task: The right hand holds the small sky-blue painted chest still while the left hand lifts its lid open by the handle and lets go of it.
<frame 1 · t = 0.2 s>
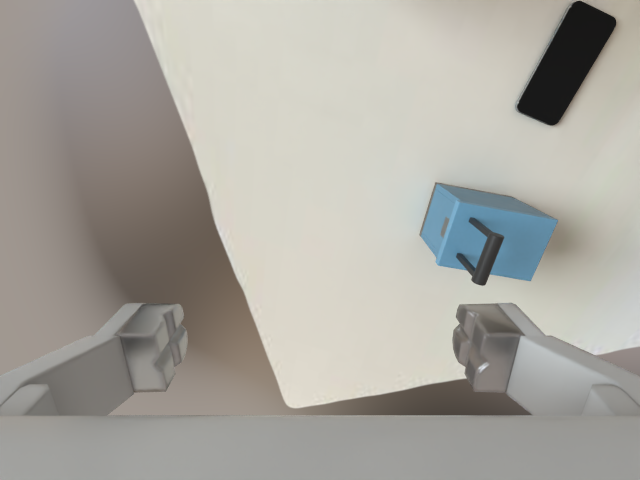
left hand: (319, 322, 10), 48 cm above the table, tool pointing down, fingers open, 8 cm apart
chest: (464, 216, 59), on the table
lid: (508, 253, 45), point 16 cm above the table, hinge at 0.0°
smartphone: (561, 67, 51), on the table
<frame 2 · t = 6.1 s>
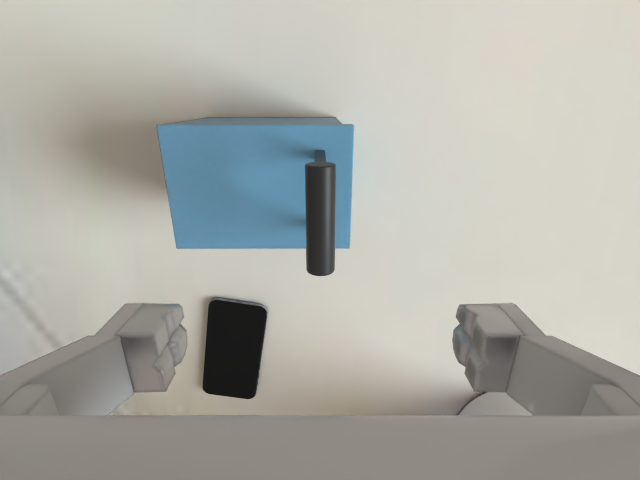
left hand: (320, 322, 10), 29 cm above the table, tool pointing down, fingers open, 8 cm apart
chest: (274, 163, 38), on the table
lid: (251, 202, 23), point 16 cm above the table, hinge at 0.0°
smartphone: (234, 348, 46), on the table
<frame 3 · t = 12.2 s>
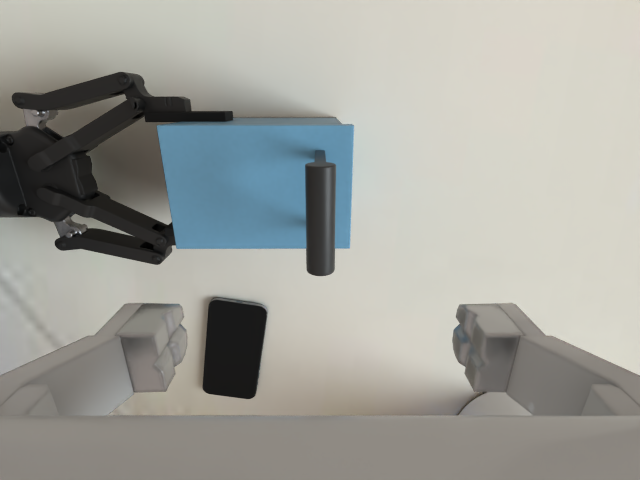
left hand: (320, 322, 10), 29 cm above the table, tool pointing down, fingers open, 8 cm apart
right hand: (234, 175, 32), fingers closed on chest, 9 cm apart
chest: (274, 163, 38), on the table, touching right hand
lid: (251, 202, 23), point 16 cm above the table, hinge at 0.0°
smartphone: (234, 348, 46), on the table
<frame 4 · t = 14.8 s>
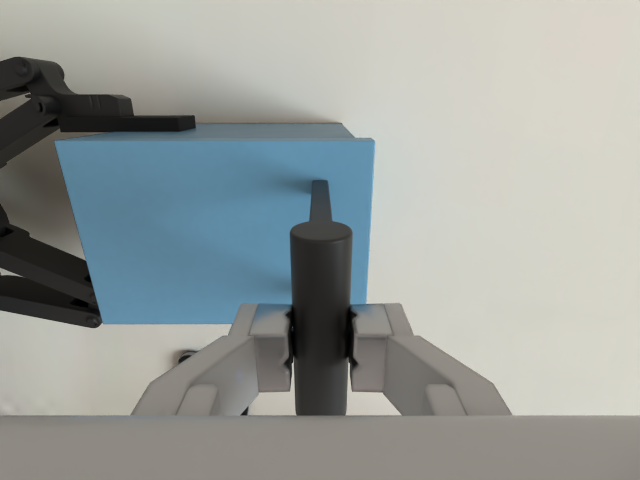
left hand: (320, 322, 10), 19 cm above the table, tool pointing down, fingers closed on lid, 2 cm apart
right hand: (198, 206, 22), fingers closed on chest, 9 cm apart
chest: (259, 183, 28), on the table, touching right hand
lid: (204, 273, 14), point 16 cm above the table, hinge at 0.0°, touching left hand
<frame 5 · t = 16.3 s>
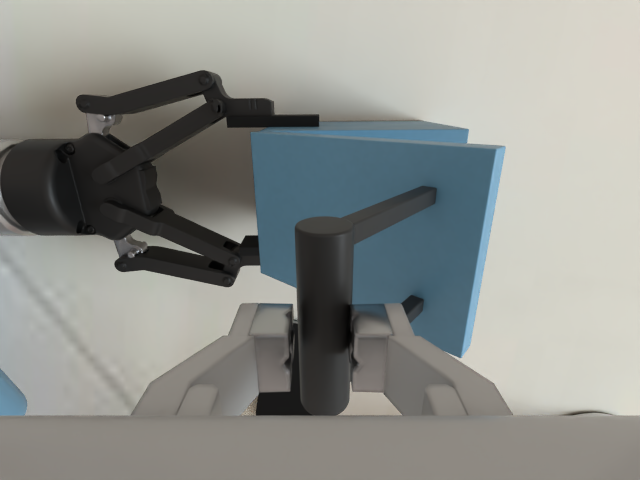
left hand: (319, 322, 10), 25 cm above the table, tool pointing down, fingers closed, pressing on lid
right hand: (319, 186, 28), fingers closed on chest, 9 cm apart
chest: (349, 171, 34), on the table, touching right hand
lid: (299, 249, 16), point 19 cm above the table, hinge at 39.9°, touching left hand
smartphone: (292, 372, 43), on the table
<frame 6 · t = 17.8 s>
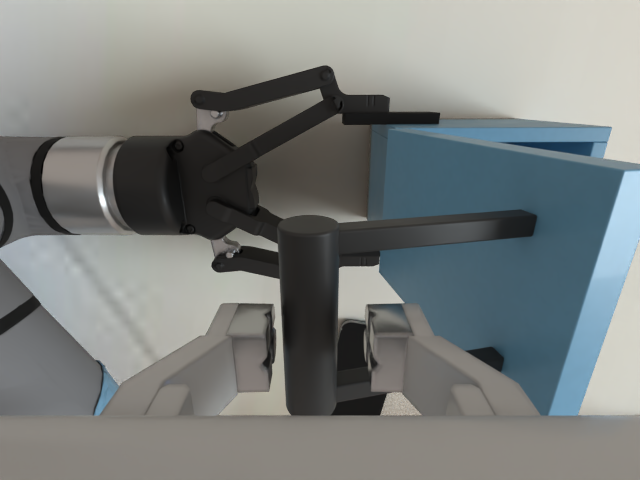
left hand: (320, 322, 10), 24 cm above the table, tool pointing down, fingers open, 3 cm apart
right hand: (426, 185, 27), fingers closed on chest, 9 cm apart
chest: (437, 170, 33), on the table, touching right hand
lid: (372, 253, 15), point 19 cm above the table, hinge at 77.2°
smartphone: (359, 374, 42), on the table
when the right hand's fingers open (6 cm above the table, at t = 21.5 s): chest stays where it is, on the table.
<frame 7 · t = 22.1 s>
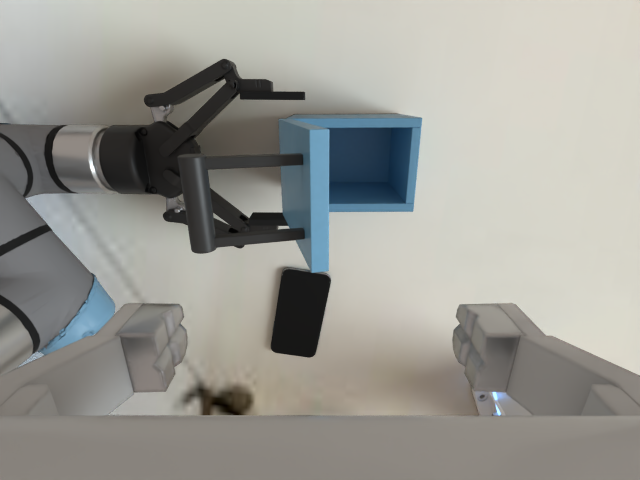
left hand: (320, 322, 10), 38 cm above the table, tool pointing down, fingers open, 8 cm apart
right hand: (305, 161, 40), fingers open, 13 cm apart
chest: (345, 152, 45), on the table
lid: (251, 186, 27), point 19 cm above the table, hinge at 76.1°
smartphone: (299, 312, 54), on the table
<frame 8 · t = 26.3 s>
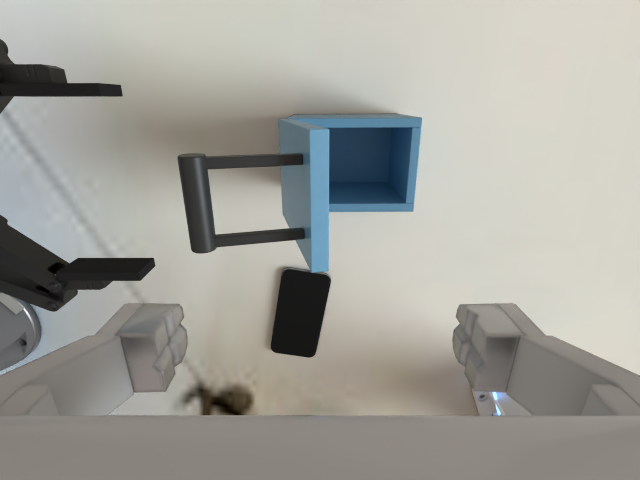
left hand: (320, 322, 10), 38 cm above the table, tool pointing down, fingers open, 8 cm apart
chest: (345, 152, 45), on the table
lid: (251, 186, 27), point 19 cm above the table, hinge at 76.1°
smartphone: (299, 312, 54), on the table
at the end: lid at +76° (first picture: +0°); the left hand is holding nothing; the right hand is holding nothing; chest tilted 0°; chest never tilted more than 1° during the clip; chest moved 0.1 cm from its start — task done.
